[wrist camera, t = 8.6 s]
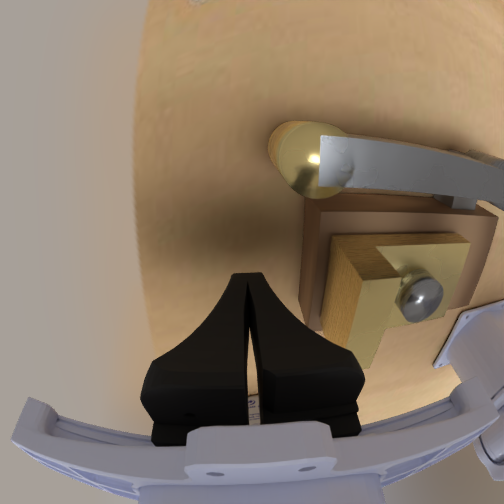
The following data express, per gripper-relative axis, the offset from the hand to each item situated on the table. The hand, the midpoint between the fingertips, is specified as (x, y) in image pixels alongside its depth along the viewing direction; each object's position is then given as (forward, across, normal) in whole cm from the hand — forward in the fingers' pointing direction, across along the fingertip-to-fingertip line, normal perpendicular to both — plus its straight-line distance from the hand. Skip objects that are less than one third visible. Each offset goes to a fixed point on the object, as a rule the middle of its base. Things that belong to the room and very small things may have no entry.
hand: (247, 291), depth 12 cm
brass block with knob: (0, -8, 0) cm, 8 cm away
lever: (+1, -9, -6) cm, 11 cm away
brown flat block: (+4, -10, -2) cm, 11 cm away
